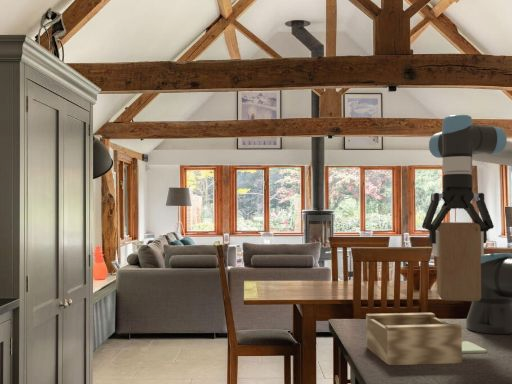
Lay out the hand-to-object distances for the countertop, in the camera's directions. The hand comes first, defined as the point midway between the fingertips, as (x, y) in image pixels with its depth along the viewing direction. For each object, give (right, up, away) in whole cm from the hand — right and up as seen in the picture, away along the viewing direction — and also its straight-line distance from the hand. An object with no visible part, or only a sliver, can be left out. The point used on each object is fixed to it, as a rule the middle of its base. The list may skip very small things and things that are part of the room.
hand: (458, 256), depth 155 cm
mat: (0, -24, -1) cm, 24 cm away
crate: (-14, -24, -7) cm, 29 cm away
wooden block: (0, -11, 0) cm, 11 cm away
